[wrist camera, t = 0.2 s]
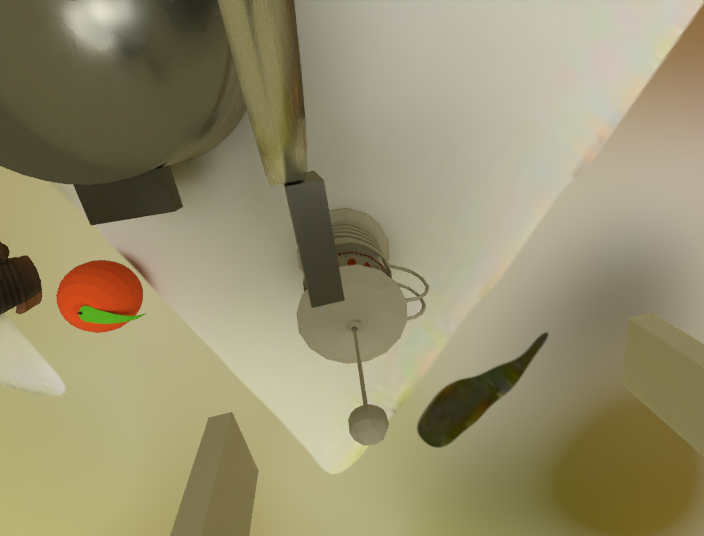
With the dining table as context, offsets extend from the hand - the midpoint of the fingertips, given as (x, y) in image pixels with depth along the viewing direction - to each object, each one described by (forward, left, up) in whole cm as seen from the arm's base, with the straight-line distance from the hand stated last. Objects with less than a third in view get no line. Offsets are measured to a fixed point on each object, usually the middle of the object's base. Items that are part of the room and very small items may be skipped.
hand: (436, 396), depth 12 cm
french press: (+5, -2, -28) cm, 29 cm away
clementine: (+4, -26, -28) cm, 38 cm away
